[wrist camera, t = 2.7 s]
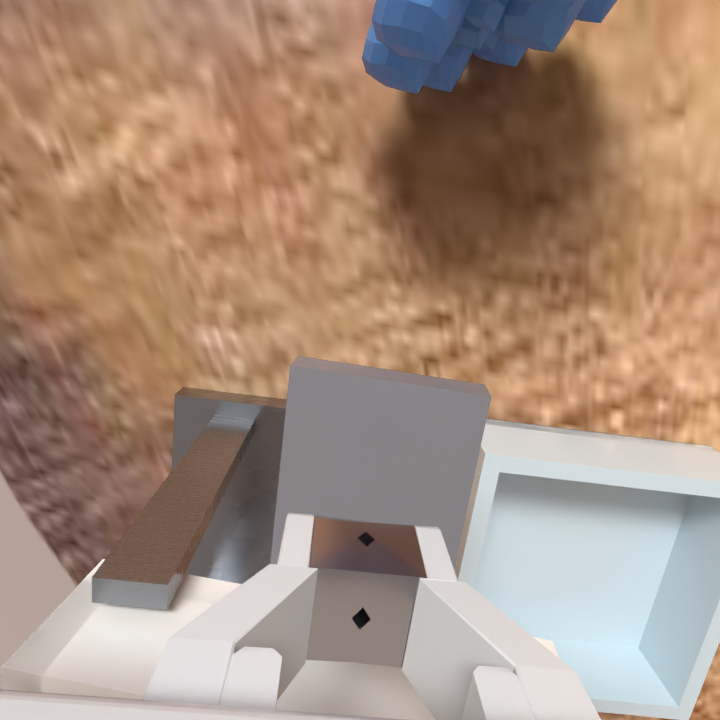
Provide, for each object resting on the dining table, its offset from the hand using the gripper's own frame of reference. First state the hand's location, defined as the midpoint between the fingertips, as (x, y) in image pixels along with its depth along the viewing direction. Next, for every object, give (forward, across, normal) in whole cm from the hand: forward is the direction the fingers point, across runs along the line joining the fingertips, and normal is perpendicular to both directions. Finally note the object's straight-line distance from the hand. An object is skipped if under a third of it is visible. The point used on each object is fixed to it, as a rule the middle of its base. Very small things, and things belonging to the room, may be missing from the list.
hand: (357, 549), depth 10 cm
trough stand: (+16, +5, +9) cm, 19 cm away
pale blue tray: (+16, -13, +9) cm, 22 cm away
